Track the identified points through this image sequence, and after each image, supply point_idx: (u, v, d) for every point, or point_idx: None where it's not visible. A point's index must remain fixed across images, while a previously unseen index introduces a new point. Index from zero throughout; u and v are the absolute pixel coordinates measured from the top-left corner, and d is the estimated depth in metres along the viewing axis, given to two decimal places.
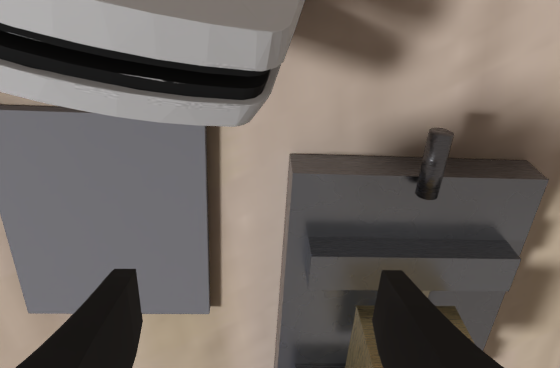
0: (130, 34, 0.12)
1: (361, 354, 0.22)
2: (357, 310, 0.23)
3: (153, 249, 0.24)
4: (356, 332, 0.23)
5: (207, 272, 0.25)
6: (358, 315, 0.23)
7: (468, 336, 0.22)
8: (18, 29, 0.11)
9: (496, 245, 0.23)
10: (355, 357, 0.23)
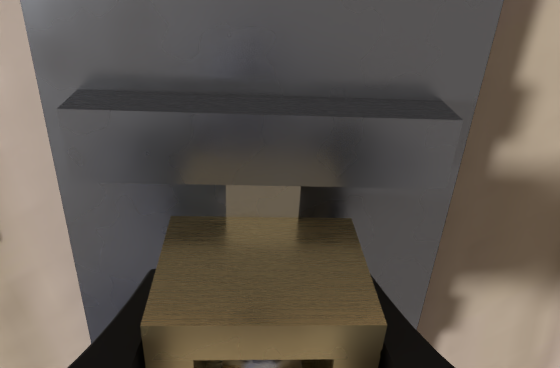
0: None
1: None
2: (169, 223, 0.13)
3: None
4: None
5: None
6: None
7: (361, 262, 0.11)
8: None
9: (422, 105, 0.13)
10: None
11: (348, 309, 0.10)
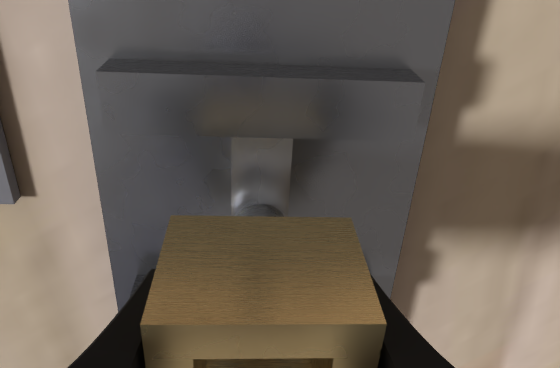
0: None
1: None
2: (169, 222, 0.13)
3: None
4: None
5: None
6: None
7: (361, 261, 0.11)
8: None
9: (394, 72, 0.15)
10: None
11: (348, 308, 0.10)
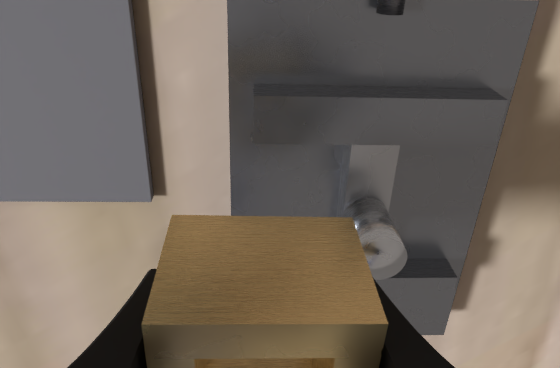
0: None
1: None
2: None
3: (77, 113, 0.21)
4: None
5: (143, 145, 0.22)
6: None
7: (362, 261, 0.11)
8: None
9: (479, 91, 0.19)
10: None
11: (349, 308, 0.10)
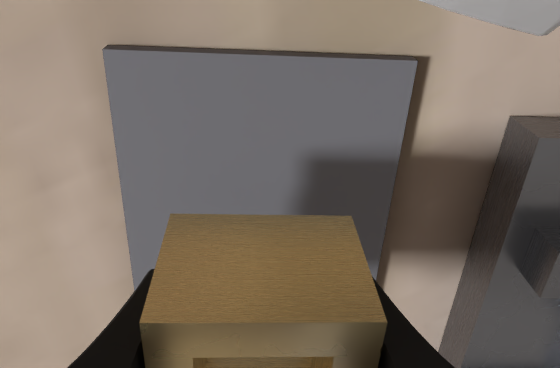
0: None
1: None
2: (169, 221, 0.13)
3: None
4: None
5: (375, 275, 0.20)
6: None
7: (362, 259, 0.11)
8: None
9: None
10: None
11: (348, 306, 0.10)
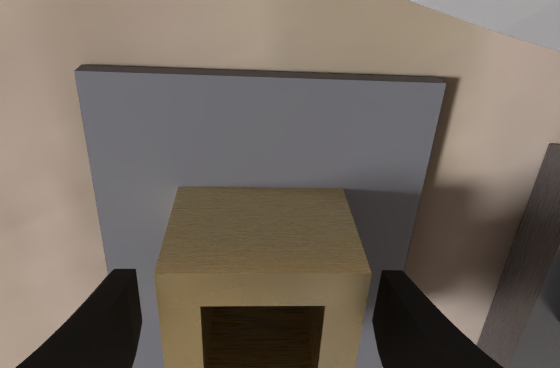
0: None
1: None
2: (177, 193, 0.14)
3: None
4: None
5: None
6: None
7: (351, 224, 0.13)
8: None
9: None
10: None
11: (337, 261, 0.11)
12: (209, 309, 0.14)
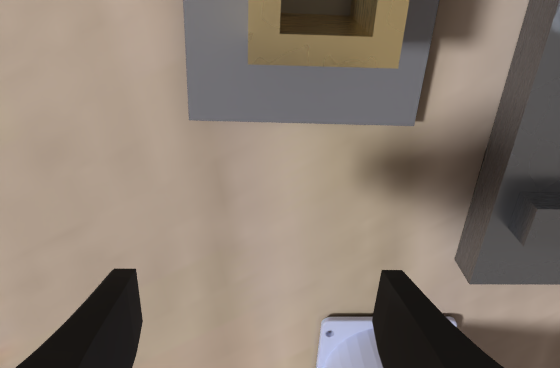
0: None
1: None
2: None
3: None
4: None
5: (426, 58, 0.20)
6: None
7: None
8: None
9: None
10: None
11: None
12: None
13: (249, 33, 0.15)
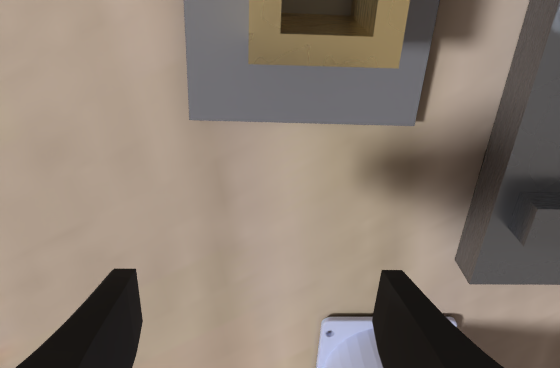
0: None
1: None
2: None
3: None
4: None
5: (426, 58, 0.20)
6: None
7: None
8: None
9: None
10: None
11: None
12: None
13: (250, 33, 0.15)
